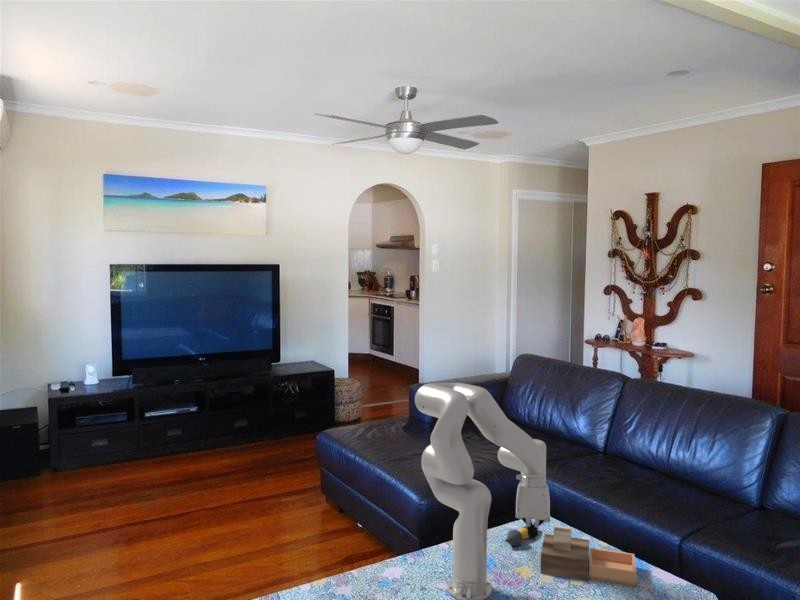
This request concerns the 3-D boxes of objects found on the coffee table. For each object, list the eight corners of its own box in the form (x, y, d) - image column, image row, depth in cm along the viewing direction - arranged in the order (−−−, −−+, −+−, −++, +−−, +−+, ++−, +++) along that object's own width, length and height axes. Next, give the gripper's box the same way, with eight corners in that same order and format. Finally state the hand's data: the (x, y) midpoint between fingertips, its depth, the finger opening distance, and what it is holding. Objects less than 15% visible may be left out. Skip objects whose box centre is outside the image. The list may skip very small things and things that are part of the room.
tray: (636, 586, 172) (636, 572, 172) (588, 579, 176) (589, 565, 176) (634, 566, 183) (634, 553, 183) (589, 560, 188) (589, 547, 187)
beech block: (570, 550, 181) (570, 534, 181) (553, 548, 182) (553, 532, 182) (571, 543, 186) (571, 527, 185) (554, 541, 187) (554, 525, 187)
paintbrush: (527, 527, 212) (527, 513, 211) (540, 531, 209) (540, 517, 208) (501, 548, 196) (501, 533, 195) (515, 552, 193) (515, 537, 192)
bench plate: (588, 580, 175) (588, 560, 175) (540, 573, 180) (540, 553, 179) (588, 558, 189) (589, 539, 188) (544, 552, 193) (544, 533, 192)
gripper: (507, 481, 185) (506, 540, 186) (557, 487, 180) (556, 546, 181) (510, 473, 192) (510, 529, 193) (558, 478, 187) (558, 536, 188)
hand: (532, 538), depth 187 cm, fingers closed
